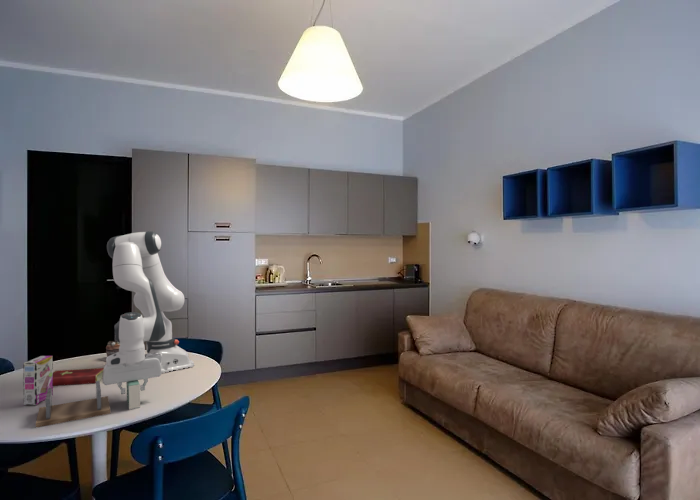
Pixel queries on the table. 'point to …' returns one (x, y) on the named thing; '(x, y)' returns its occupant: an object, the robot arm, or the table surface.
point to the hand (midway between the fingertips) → (133, 391)
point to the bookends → (49, 400)
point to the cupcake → (112, 347)
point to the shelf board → (73, 411)
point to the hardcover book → (77, 376)
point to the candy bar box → (37, 379)
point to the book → (133, 394)
